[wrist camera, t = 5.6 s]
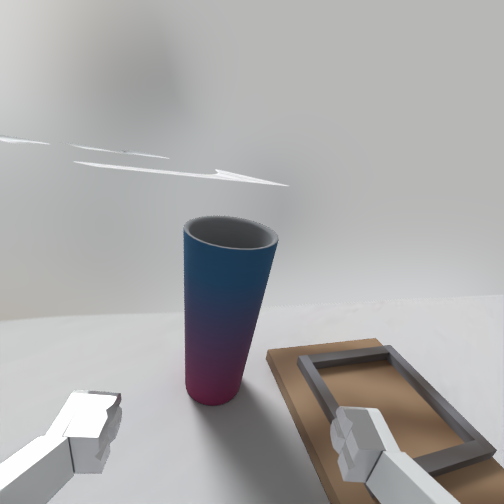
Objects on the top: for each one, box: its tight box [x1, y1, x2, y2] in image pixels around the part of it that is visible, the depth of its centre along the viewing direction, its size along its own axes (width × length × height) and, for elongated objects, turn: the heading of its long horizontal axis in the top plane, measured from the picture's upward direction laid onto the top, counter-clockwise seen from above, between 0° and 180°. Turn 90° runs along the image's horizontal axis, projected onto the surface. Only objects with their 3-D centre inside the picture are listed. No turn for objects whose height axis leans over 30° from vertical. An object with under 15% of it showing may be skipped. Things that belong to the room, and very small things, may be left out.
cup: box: [184, 216, 278, 406], centre depth 23 cm, size 7×7×15 cm
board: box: [266, 338, 504, 504], centre depth 23 cm, size 20×14×2 cm
